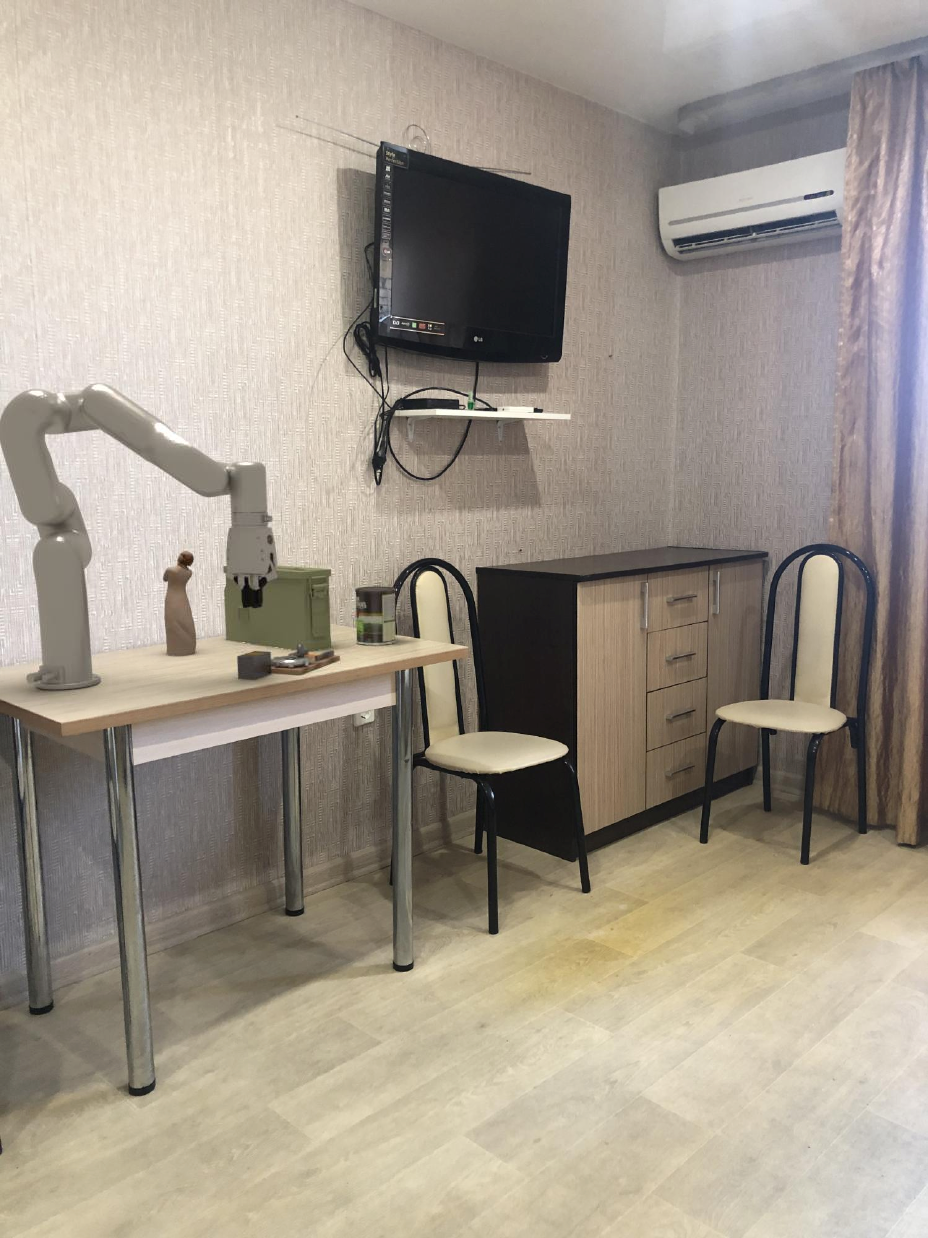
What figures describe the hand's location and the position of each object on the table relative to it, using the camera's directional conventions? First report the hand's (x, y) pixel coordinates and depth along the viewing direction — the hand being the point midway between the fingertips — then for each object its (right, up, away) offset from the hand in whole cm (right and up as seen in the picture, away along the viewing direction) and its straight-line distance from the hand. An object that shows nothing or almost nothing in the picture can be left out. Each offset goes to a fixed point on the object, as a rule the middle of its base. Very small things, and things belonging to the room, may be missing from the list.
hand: (252, 606), depth 211 cm
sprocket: (+7, -12, +9) cm, 17 cm away
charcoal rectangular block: (0, -15, +2) cm, 15 cm away
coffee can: (+22, -9, +45) cm, 51 cm away
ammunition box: (-3, -9, +44) cm, 45 cm away
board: (+8, -13, +13) cm, 20 cm away
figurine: (-24, -11, +32) cm, 41 cm away
